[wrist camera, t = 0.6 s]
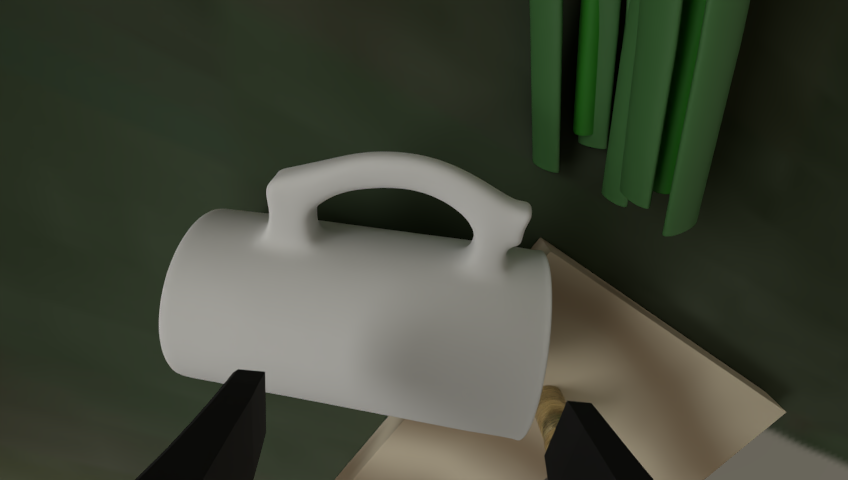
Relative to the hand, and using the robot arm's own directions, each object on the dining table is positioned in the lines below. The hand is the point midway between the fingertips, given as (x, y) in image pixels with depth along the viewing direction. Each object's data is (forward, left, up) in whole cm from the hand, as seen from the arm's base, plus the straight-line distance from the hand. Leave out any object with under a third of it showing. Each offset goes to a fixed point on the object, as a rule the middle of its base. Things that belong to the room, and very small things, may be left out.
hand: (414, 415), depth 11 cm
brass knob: (-2, -10, -9) cm, 13 cm away
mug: (-3, +7, -7) cm, 10 cm away
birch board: (-6, -13, -10) cm, 18 cm away
